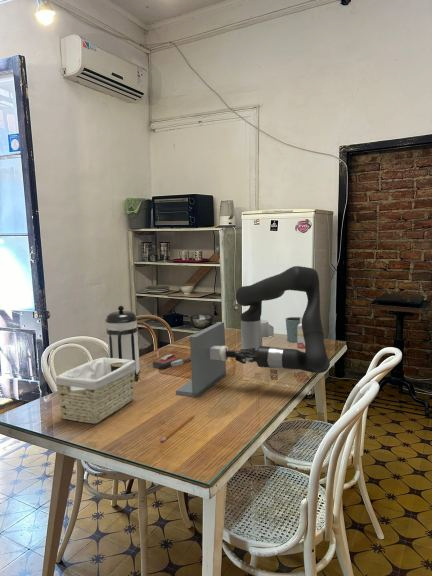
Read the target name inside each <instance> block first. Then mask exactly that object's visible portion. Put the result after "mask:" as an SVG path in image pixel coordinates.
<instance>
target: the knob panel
mask: <svg viewBox="0 0 432 576" xmlns="http://www.w3.org/2000/svg"><path fill="white" fill-rule="evenodd" d="M225 328H226V327H225V322H224V321H218V322H215V323H214V324H212V325H210V326H208V327H206V328H204V329H201V330H200V331H198V332H196V333H195V334H192V335H190V336H189V346H190V357H191V359H190V366H191V367H190V368H191V369H190V370H191V379H190V380H189V381H187V382H186V383H185V384H183V385H181V386H180V387H178V389H176V390H175V394H176V395H177V396H185V397H191V398H192V397H193V398H200V397H201V396H202V395H204V393H206V392H207V391H208V390H210V389H211V388H212V387H213V386H214V385H215V384H217V383H218V382H219V381H220V380H222V379H223V378H224V377H226V376H227V364H226V362H227V361H221V360H220V358H219V351H220V348H221V346H226V332H225V331H226V330H225Z"/></svg>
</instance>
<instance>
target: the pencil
mask: <svg viewBox="0 0 432 576" xmlns="http://www.w3.org/2000/svg"><path fill="white" fill-rule="evenodd" d="M194 417H195V415H192V416H190V417H188V418H186V419H185V421H183V422H182V423H181V424H180V425H178V426H177V427H175V428H174V429H173V430H172V431H171V432H169V433H167V434H166V436H164V437H163V438H162V439H161V440H159V442H160V444H163V443H164V442H166V441H167V440H168V439H169V438H171V437H172V436H173V435H174V434H175V433H177V432H178V431H179V430H181V428H183V427H184V426H185V425H187V423H189V422H191V420H193V419H194Z"/></svg>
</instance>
